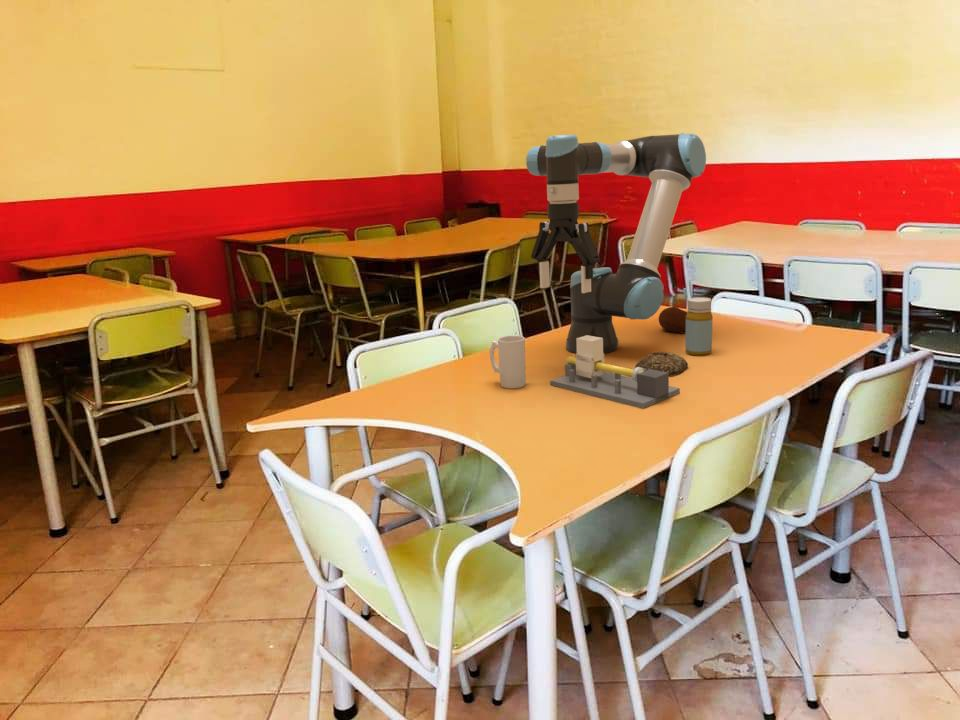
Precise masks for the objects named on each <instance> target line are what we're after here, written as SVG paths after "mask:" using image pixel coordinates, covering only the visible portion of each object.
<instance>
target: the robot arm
mask: <svg viewBox="0 0 960 720" xmlns="http://www.w3.org/2000/svg"><path fill="white" fill-rule="evenodd" d="M705 149H706V148H705V145H704V142H703V140H702V139H701V138H700V137H699V136H698V135H697V134H695V133H684V132H682V133H680V134H679V133H676V134H662V135H649V136H642V137H638V138H633V139H627V140H619V141H616V142H615V143H612V144H605V143H603V142H597V141H593V142H582V143H581V142H579V141H578V136H577V135H576V134H560V135H559V134H558V135H557V134H556V135H551V136H548V137H546V140H545V145H539V146H538V145H536V146H533V147H532V148H529V150H528V152H527V154H526V158H525V162H526V164H525V165H526V168H527V171H528V172H529V173H530V175H533V176H537V177H538V176H540V177H546V195H547V198H546V199H547V201H548V202H549V203H548V204H547V208H546V209H547V218H548V219H549V221H548V220H547V221H541V222H539V227H538V228H539V229H538V234H537V237H536V240H535V242H534V246H533V248H532V252H531V255H530V258H531V259H533V260H536V262H537V273H538V275H539V289H545V288H549V287H550V285H551V284H550V283H551V281H550V261H549V259H548V258H549V256H550V254H551V253H552V251H553V250H554V248H555V246H556V244H557V243H558V242H564V243H568V244H570V245H571V247H572V248H573V249H574V251H575V253H576V254H577V256H578V257H579V259H580V260H581V262H582V265H581V266H580V270H578V271H575V272H573V273H572V274H571V276H570V286H569V289H570V310H571V311H570V313H571V318H570V319H571V322H570V326H569V330H568V333H567V338H566V340H565V345H566V346H565V348H566V350H567V351H568V352H570V353H574V354H577V344H576V338H579V337H583V336H586V335H589V336H595V337H600V338H603V353H604V354H607V353H612V352H615V351H617V350H618V349H619V339H618V337H617V332H616V330H615V325H614V323H613V317H617V318H625V319H629V320H648V319H650V318H651V317H653V316H654V315H655V314H656V313H657V312H658V310H660V308H661V306H662V304H663V300H664V294H665V293H664V290H665V288H664V284H663V282H662V280H661V277H662V276H661V273H659V271H658V270H659V269H658V268H659V264H660V262H661V258H662V255H663V252H664V249H665V245H666V242H667V239H668V236H669V232H670V230H671V227H672V224H673V221H674V217H675V214H676V212H677V208H678V205H679V203H680V202H679V201H680V200H681V197H682V192H684V191H685V190H687V189H689V187H690V186H691V182H692V180H693V178H697V177H700V176H702V175H703V173H704V171H705V169H706V165H707V162H706V161H707V153H706V150H705ZM603 173H614V174H615V175H617V176H630V177H639V178H640V177H641V178H648V179H649V180H650V182H651V184H650V189H649V191H648V194H647V197H646V200H645V203H644V206H643V210H642V211H641V212H642V213H641V215H640V219H639V222H638V226H637V229H636V231H635V234H634V236H633V237H634V238H633V240H632V244H631V247H630V249H629V252H628V255H627V258H626V260H625V261H623V262H621V263H620V264H619V265H618V267H617V271H616V273H613V271H612V268H611V267H607V266H606V267H596V268H594V265H596V264H597V263H600V262H601V258H600V255H599V253H598V251H597V248H596V245H595V242H594V240H593V238H592V235H591V233H590V225H589V222H581V223H579V222H578V219H579V217H580V204H579V203H578V201H579V199H580V195H579V194H580V190H579V176H582V175H583V176H584V175H585V176H586V175H587V176H588V175H598V174H603Z"/></svg>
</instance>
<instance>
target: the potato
mask: <svg viewBox="0 0 960 720" xmlns="http://www.w3.org/2000/svg"><path fill="white" fill-rule="evenodd" d="M687 312H688V311H685V310H683V309H681V308H679V307H677V306H670V307H667V308H664V309H663V310H662V311H661V312H660V313H659V315H658V323H659V325H660V326H661V328H662V329H664V330H666V331H669V332H672V333H676V332H678V334H686V315H687Z"/></svg>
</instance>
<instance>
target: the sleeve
mask: <svg viewBox="0 0 960 720" xmlns="http://www.w3.org/2000/svg"><path fill="white" fill-rule="evenodd" d="M576 344H577V353H575V357H576V375H579V376H583V377H588V378H591V375H593V374H595V375H597V376H600V375H603V374H604V372H605V371H602V370H597V369H594V362H600V363H604V364H605V353H603V338H600V337H595V336H589V335H586V336H583V337H579V338H576Z"/></svg>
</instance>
